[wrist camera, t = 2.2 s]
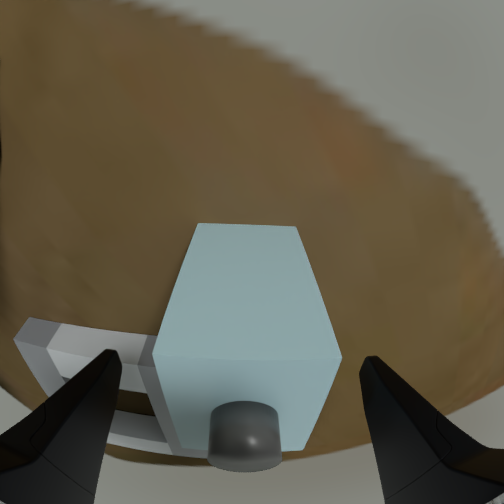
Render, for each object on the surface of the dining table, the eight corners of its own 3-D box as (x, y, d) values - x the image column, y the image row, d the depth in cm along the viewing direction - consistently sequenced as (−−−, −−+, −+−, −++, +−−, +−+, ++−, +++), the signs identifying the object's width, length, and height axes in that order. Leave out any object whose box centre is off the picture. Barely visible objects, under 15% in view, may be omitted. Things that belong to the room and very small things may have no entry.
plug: (202, 316, 16) (177, 481, 8) (198, 223, 13) (137, 404, 5) (283, 318, 16) (306, 483, 8) (295, 226, 14) (356, 408, 5)
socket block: (84, 415, 22) (77, 434, 20) (29, 317, 16) (13, 339, 14) (211, 435, 23) (209, 458, 21) (199, 339, 17) (194, 371, 15)
